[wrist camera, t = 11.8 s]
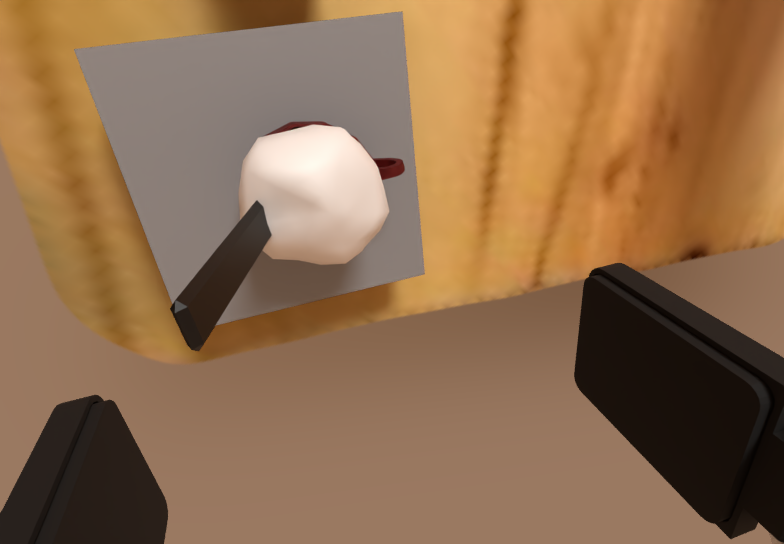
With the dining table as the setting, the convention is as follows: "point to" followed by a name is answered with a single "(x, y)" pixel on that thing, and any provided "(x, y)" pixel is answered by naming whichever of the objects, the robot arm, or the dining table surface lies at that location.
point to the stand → (239, 133)
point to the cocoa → (291, 214)
